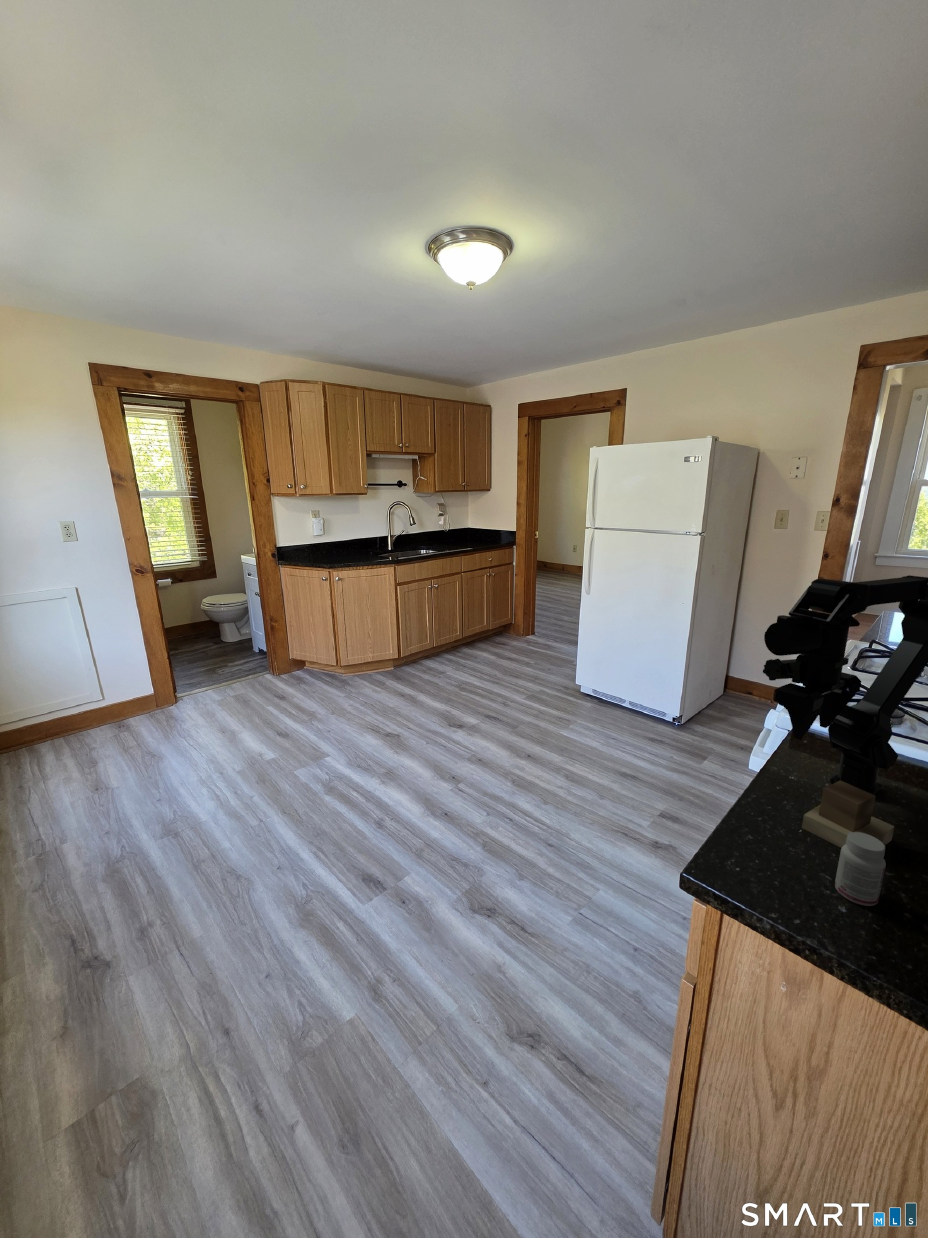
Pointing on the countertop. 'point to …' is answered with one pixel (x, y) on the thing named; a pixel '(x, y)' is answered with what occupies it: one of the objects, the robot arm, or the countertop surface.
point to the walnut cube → (847, 805)
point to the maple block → (838, 833)
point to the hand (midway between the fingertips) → (811, 733)
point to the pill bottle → (861, 869)
